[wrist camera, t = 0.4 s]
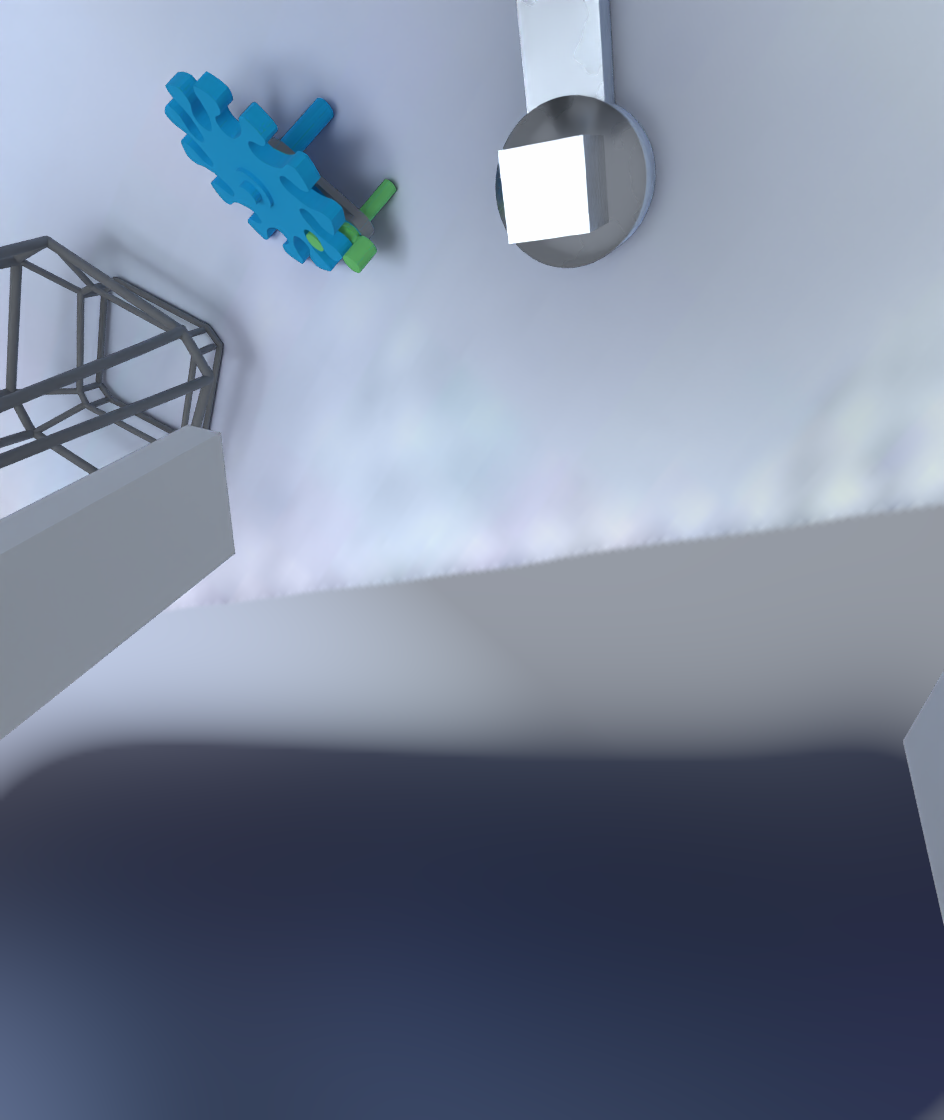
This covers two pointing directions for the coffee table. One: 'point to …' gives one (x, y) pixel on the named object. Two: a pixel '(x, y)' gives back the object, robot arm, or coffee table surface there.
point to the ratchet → (572, 141)
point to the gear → (274, 173)
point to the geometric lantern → (98, 358)
